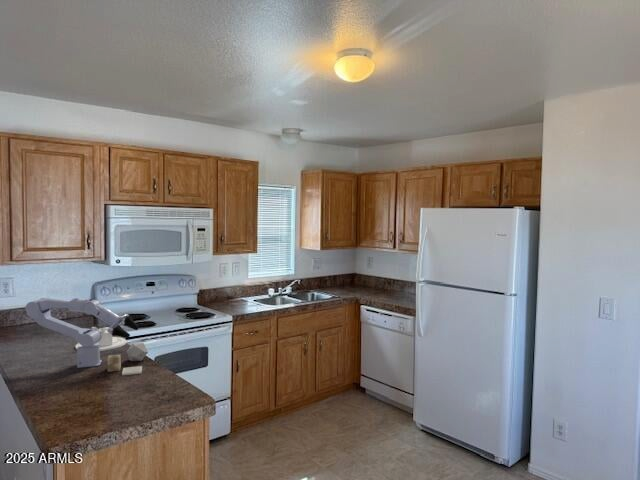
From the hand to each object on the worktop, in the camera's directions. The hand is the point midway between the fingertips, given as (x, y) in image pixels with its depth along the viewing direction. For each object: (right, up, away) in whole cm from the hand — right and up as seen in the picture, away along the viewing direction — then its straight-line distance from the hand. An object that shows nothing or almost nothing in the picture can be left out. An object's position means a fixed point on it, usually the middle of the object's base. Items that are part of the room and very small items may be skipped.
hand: (133, 332), depth 211 cm
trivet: (+3, -16, -9) cm, 19 cm away
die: (-1, -15, +7) cm, 17 cm away
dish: (-31, -14, +32) cm, 47 cm away
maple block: (-6, -16, -6) cm, 18 cm away
